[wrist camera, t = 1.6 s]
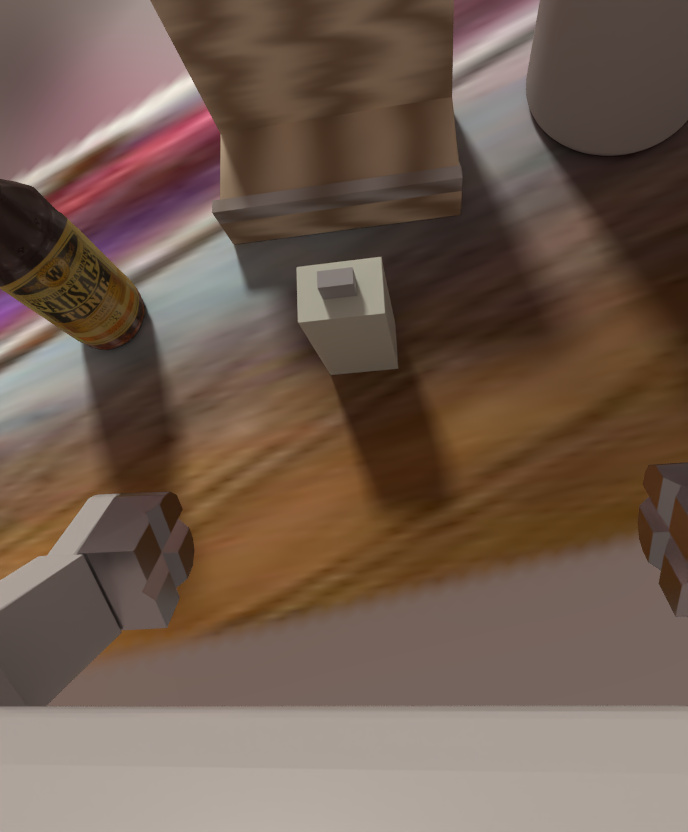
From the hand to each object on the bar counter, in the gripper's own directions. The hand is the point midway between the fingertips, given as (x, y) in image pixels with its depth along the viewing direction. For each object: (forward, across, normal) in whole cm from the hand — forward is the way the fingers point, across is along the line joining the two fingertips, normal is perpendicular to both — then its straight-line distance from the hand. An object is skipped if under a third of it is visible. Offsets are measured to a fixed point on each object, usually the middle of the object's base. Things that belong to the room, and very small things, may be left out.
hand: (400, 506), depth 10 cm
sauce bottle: (+35, +24, +8) cm, 43 cm away
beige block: (+31, +4, +11) cm, 33 cm away
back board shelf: (+42, +5, 0) cm, 42 cm away
